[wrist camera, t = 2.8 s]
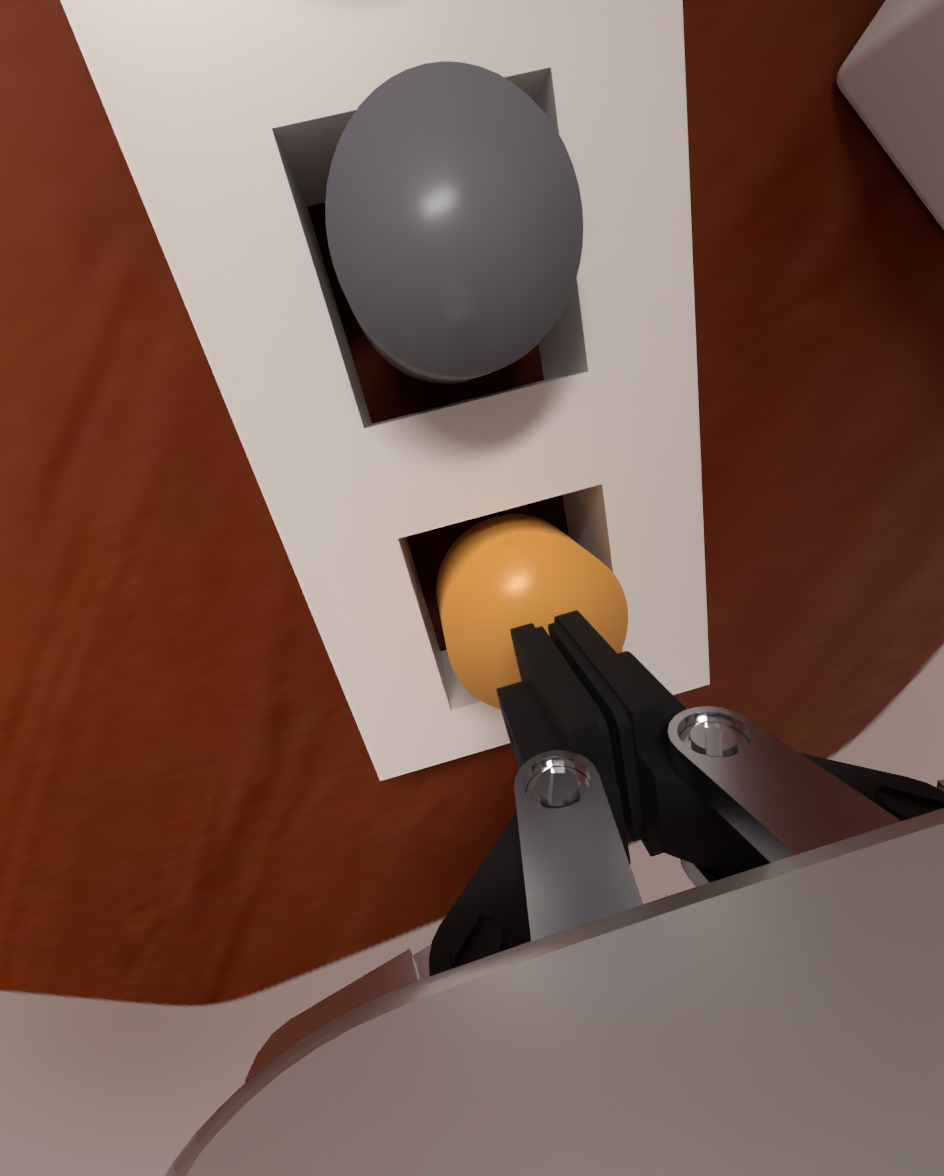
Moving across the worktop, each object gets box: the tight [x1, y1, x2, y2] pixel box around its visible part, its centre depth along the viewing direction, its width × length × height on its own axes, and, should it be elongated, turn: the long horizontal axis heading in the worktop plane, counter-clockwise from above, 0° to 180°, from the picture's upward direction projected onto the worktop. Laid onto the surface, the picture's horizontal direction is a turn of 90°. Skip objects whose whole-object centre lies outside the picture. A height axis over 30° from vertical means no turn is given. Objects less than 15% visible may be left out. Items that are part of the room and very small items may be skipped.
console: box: [60, 0, 710, 781], centre depth 13 cm, size 28×12×4 cm, turn 13°
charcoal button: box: [325, 61, 583, 384], centre depth 11 cm, size 5×5×4 cm
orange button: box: [436, 514, 628, 709], centre depth 14 cm, size 5×5×4 cm
